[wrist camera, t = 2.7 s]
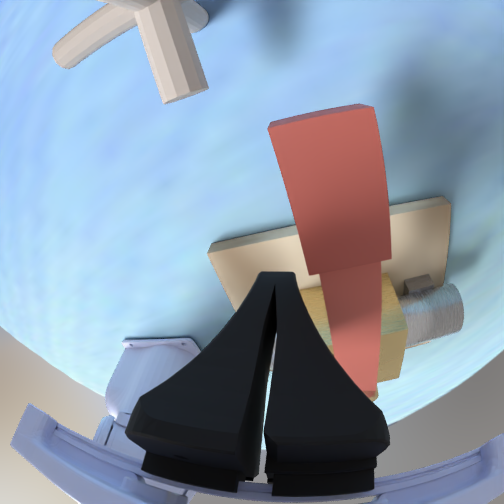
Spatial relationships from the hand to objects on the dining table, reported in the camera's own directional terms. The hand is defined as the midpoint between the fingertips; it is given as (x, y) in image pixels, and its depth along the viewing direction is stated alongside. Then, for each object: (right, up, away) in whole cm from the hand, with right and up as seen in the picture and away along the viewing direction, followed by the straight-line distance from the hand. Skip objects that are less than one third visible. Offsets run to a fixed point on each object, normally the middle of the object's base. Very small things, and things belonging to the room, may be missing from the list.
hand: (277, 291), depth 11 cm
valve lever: (+3, -1, 0) cm, 3 cm away
